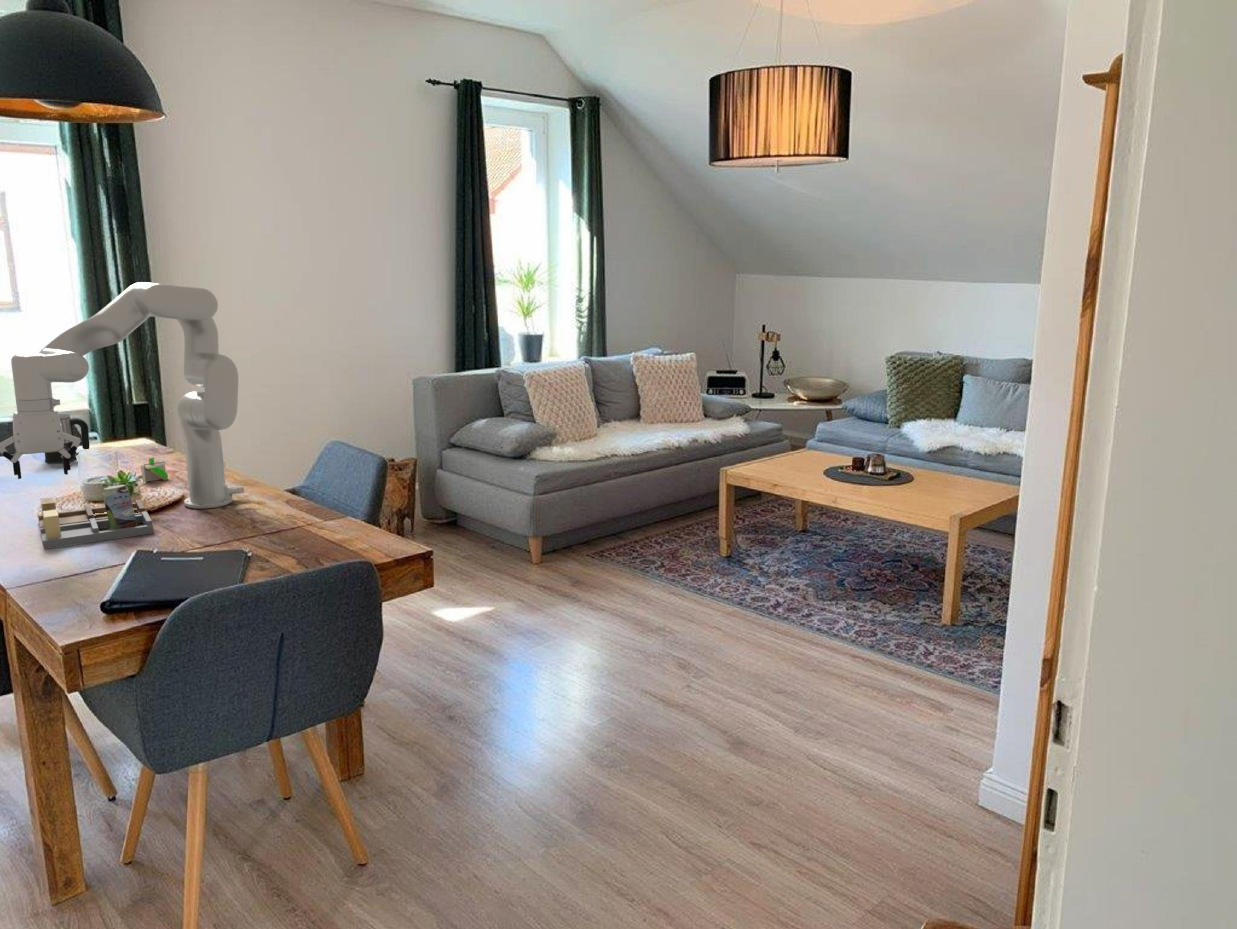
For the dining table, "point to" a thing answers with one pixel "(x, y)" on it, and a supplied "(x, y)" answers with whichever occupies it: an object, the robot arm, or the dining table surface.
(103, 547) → the dining table surface
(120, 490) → the grey printed packet
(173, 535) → the dining table surface
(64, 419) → the milk frother
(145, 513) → the grey divided tray
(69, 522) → the plank with end posts
